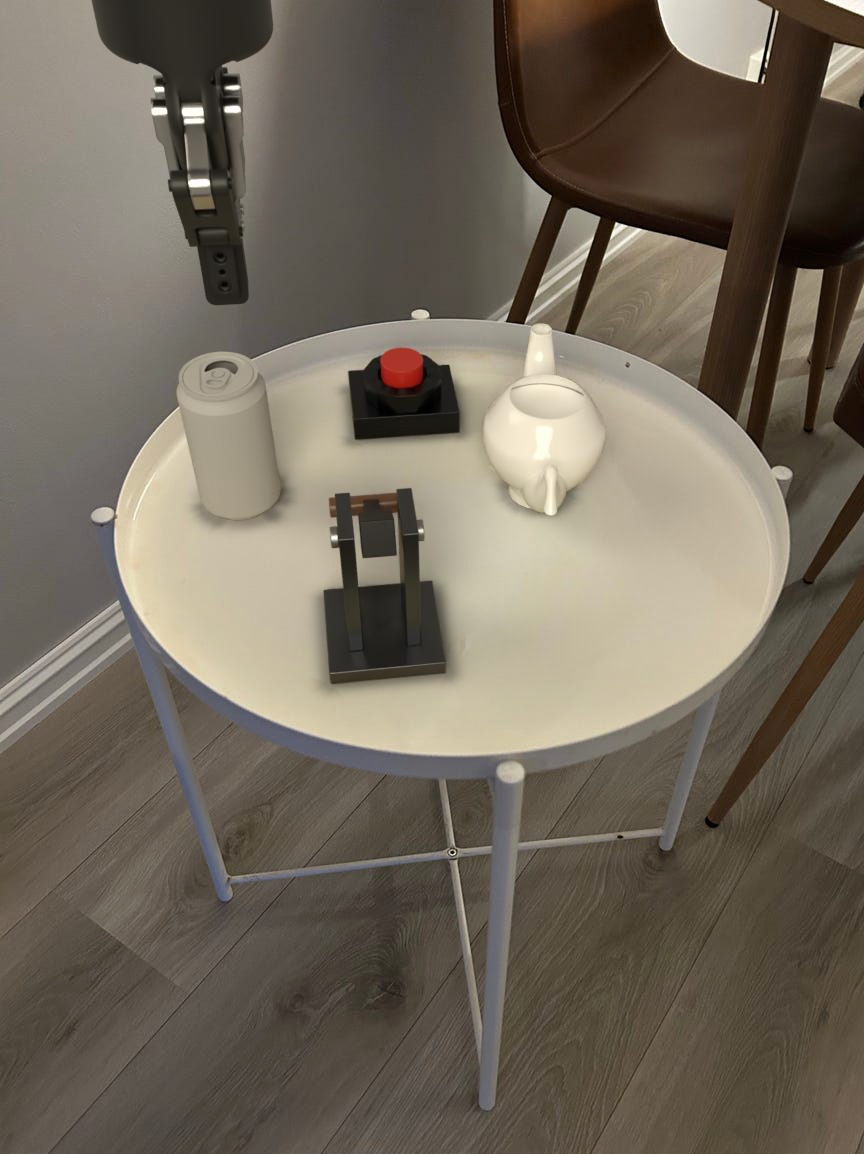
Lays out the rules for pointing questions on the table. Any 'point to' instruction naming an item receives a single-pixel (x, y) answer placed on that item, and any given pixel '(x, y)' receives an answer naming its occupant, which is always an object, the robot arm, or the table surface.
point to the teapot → (543, 430)
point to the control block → (403, 403)
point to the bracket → (382, 608)
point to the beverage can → (229, 434)
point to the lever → (374, 523)
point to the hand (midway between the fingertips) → (228, 297)
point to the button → (401, 368)
